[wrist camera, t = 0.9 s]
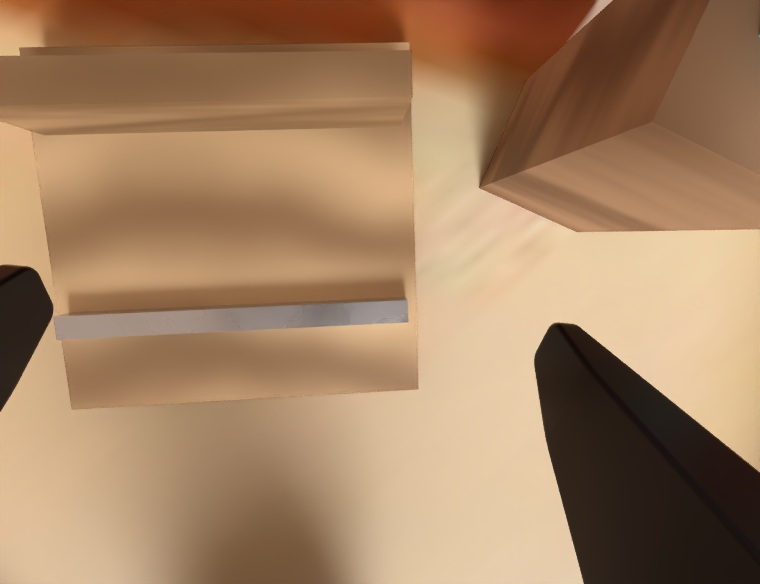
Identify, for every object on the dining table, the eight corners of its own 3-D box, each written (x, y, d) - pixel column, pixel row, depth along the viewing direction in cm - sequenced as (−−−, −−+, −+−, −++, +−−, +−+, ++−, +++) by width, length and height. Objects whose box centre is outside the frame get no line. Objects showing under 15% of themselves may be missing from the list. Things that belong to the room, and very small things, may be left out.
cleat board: (414, 378, 21) (433, 427, 16) (92, 396, 21) (-3, 454, 15) (405, 57, 19) (424, -13, 14) (46, 62, 18) (-83, -10, 13)
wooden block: (577, 232, 21) (943, 226, 8) (479, 187, 20) (700, 102, 7) (626, 127, 20) (1106, -65, 7) (526, 78, 20) (857, -223, 7)
